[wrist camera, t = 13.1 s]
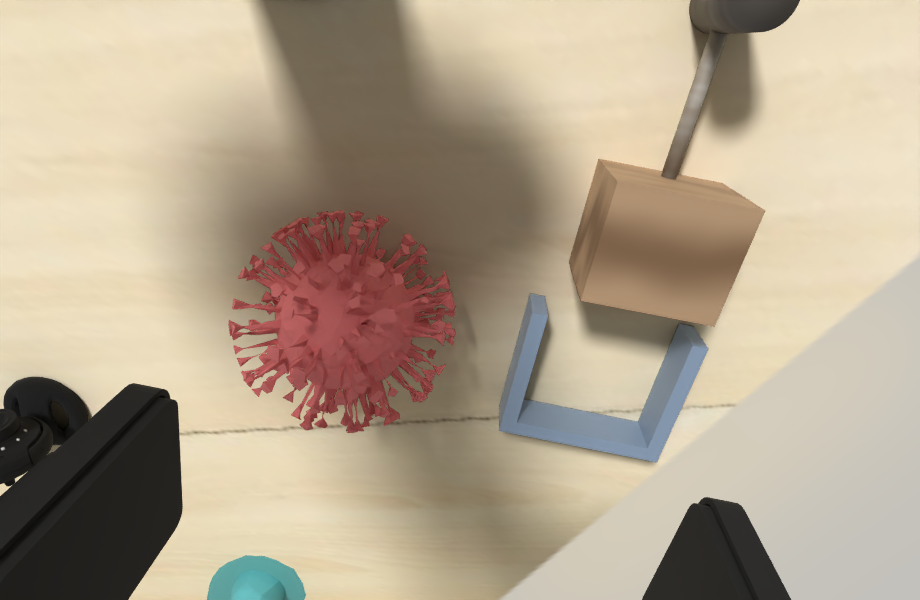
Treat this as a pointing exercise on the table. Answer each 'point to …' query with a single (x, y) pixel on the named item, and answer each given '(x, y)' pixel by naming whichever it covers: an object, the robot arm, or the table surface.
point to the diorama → (256, 581)
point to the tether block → (672, 205)
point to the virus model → (344, 320)
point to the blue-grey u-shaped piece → (592, 427)
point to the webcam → (34, 424)
